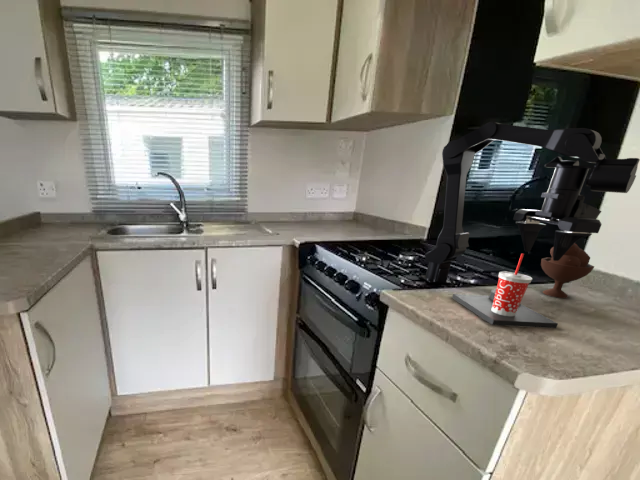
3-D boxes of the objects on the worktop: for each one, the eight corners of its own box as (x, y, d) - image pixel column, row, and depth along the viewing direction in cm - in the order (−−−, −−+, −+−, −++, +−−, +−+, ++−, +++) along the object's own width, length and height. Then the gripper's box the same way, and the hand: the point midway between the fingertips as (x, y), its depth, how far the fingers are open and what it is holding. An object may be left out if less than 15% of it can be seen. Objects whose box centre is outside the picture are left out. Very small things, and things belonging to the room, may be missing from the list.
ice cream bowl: (562, 302, 94) (584, 247, 89) (521, 289, 104) (539, 238, 99) (590, 300, 97) (613, 246, 92) (547, 287, 107) (566, 238, 101)
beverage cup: (481, 306, 85) (499, 249, 80) (506, 307, 85) (526, 251, 80) (498, 317, 79) (519, 256, 74) (525, 318, 79) (547, 257, 74)
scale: (451, 297, 94) (454, 287, 93) (507, 300, 94) (510, 289, 93) (492, 325, 78) (496, 312, 77) (559, 328, 78) (564, 316, 77)
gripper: (641, 194, 72) (609, 267, 78) (566, 188, 90) (544, 249, 95) (586, 191, 72) (558, 265, 78) (521, 186, 90) (502, 246, 95)
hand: (540, 255), depth 87 cm, fingers open, 9 cm apart
